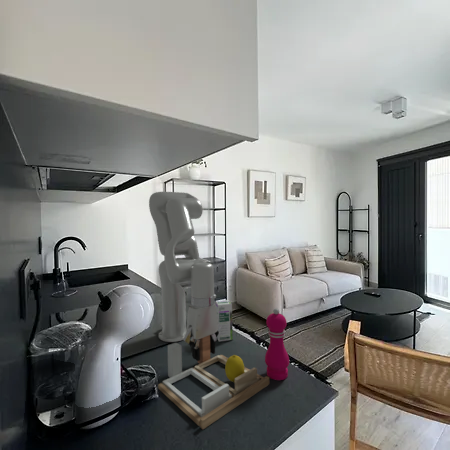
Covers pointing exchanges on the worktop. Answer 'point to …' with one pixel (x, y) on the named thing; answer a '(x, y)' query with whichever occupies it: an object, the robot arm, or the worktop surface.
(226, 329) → the syrup box
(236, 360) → the lemon
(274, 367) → the pepper mill
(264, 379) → the lane bed
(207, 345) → the frame
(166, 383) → the frame
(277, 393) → the worktop surface
